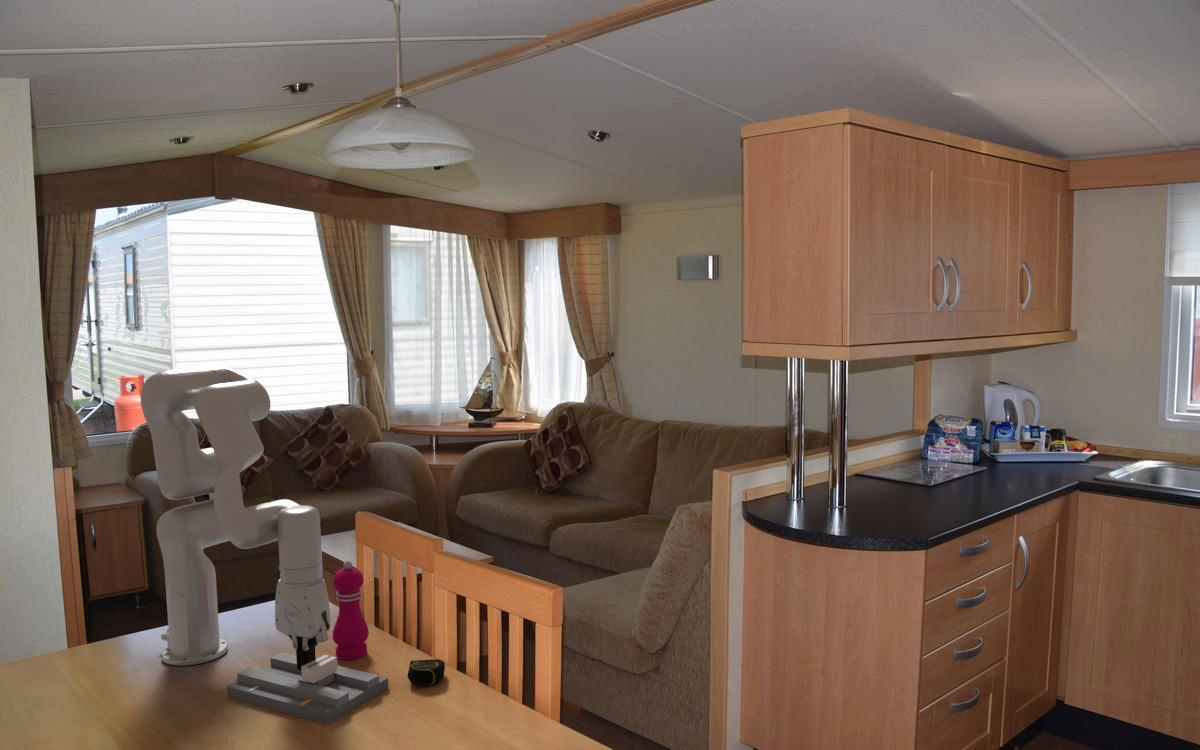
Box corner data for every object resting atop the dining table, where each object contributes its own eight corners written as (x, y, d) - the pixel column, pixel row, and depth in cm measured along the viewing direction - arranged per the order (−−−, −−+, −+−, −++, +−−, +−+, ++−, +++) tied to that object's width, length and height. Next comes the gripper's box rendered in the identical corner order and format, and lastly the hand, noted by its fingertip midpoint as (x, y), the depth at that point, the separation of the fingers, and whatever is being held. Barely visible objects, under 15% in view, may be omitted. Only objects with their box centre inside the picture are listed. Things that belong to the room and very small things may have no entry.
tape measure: (445, 674, 179) (445, 655, 178) (442, 689, 172) (442, 670, 172) (410, 676, 178) (409, 657, 178) (406, 691, 171) (405, 672, 171)
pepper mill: (359, 662, 184) (355, 567, 182) (327, 660, 186) (322, 565, 184) (375, 648, 191) (371, 556, 189) (343, 646, 193) (339, 554, 191)
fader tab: (302, 688, 168) (301, 666, 167) (326, 675, 173) (325, 654, 173) (314, 691, 166) (313, 669, 166) (337, 678, 172) (336, 656, 171)
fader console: (227, 696, 170) (226, 678, 170) (292, 664, 184) (291, 647, 184) (327, 724, 158) (326, 705, 158) (388, 687, 173) (387, 670, 172)
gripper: (257, 573, 169) (262, 668, 171) (316, 584, 162) (321, 683, 164) (287, 562, 176) (292, 653, 178) (346, 572, 169) (350, 667, 171)
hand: (306, 667), depth 171 cm, fingers closed
